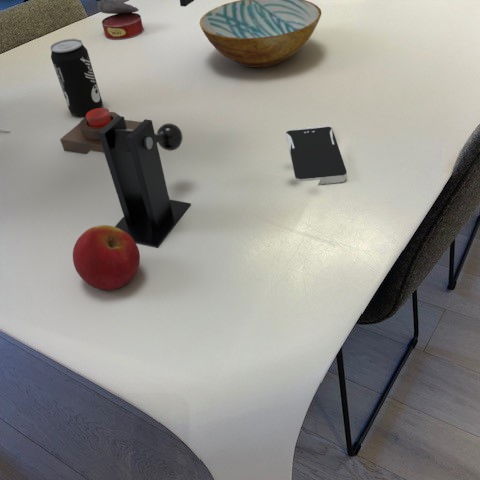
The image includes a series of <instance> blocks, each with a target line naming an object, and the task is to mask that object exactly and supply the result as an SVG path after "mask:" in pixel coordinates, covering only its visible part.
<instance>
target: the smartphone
mask: <svg viewBox="0 0 480 480" xmlns="http://www.w3.org/2000/svg"><path fill="white" fill-rule="evenodd" d="M285 136H286V142H287V146H288V151H289V156H290V161H291V165H292V170H293V175H294V179H295V181H297V182H307V181H317V180H319V181H318V184H317V185H318V186H319V185H328V184H338V183H340V184H341V183H344V182H346V180H347V173H348V171H347V168H346V164H345V162H344V159H343V156H342V154H341V150H340V147H339V145H338V141H337V138H336V136H335V132H334V129H333V127H332V126H331V125H317V126H310V127H308V126H307V127H299V128H290V129H287V130H286V131H285Z"/></svg>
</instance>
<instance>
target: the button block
mask: <svg viewBox="0 0 480 480" xmlns="http://www.w3.org/2000/svg"><path fill="white" fill-rule="evenodd" d="M109 112H110V115H111V119H112V120H113V119H114V118H115V117H116V116H121V115H120V114H118V113H117V112H115V111H109ZM142 122H143V121H139V120H138V121H137V120H130V119H129V120H128V119H125V123H126V127H127V129H135V128H136V127H137V126H138V125H139V124H140V123H142ZM105 126H106V125H105ZM105 126H103V127H96V128H95V127H90V126H89V124H88V121H87V118H86V117H83V118H82V119H81V120H80V122H79V123H78V124H77V125H75V126H74V127H73V128H72V129H71V130H70V131H68V132H67V133H66V134H65V135H63V136H62V137H61V138H60V139H59V141H60V143H61V146H62V148H63V150H64V152H69V153H76V154H81V155H88V154H89V153H90V152H96V153H97V152H98V153H103V154H104V151H103V148H102V144H101V141H100V138H99V135H98V132H99V131H100V130H102V129H103V128H104V127H105Z"/></svg>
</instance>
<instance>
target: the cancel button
mask: <svg viewBox="0 0 480 480" xmlns="http://www.w3.org/2000/svg"><path fill="white" fill-rule="evenodd" d="M110 112H111V111H110V110H109V109H108V108H106V107H101V108H96V109H93V110H91V111H89V112H88V113H87V114H86V118H87V121H88V124H89V126H90V127H95V128H96V127H103V126H105V125H107V124H108V123H110V122H111V121H112V119H111V115H110Z"/></svg>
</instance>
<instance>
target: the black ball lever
mask: <svg viewBox="0 0 480 480" xmlns="http://www.w3.org/2000/svg"><path fill="white" fill-rule="evenodd" d="M133 130H134V129H115V150H118V151H125V152H130V148H129V145H128V141H127V136H128V135H129V134H130V133H131V132H132V131H133ZM155 137H156V142H157V145H158V146H159V147H161V148H162V149H163V150H165V151H168V152H172V151H176V150H178V149H179V148H180V147H181V145H182V143H183V138H184V137H183V133H182V130H181V129H180V128H179V127H178V125H176V124H174V123H171V122H169V123H168V122H167V123H164V124H162V125H161V126H160V127H159V128H158V129H157V131H156V133H155Z"/></svg>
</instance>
